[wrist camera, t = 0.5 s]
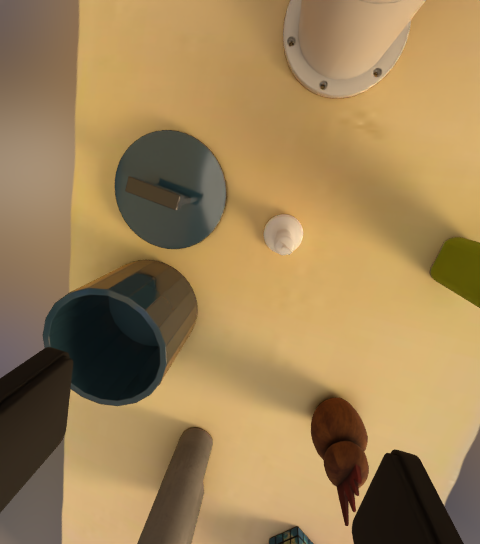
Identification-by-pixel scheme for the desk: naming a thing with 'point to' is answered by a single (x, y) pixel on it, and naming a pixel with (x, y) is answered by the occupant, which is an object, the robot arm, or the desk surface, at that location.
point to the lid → (170, 189)
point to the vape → (459, 268)
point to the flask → (180, 492)
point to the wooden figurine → (341, 448)
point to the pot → (123, 330)
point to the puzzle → (291, 537)
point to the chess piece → (283, 234)
